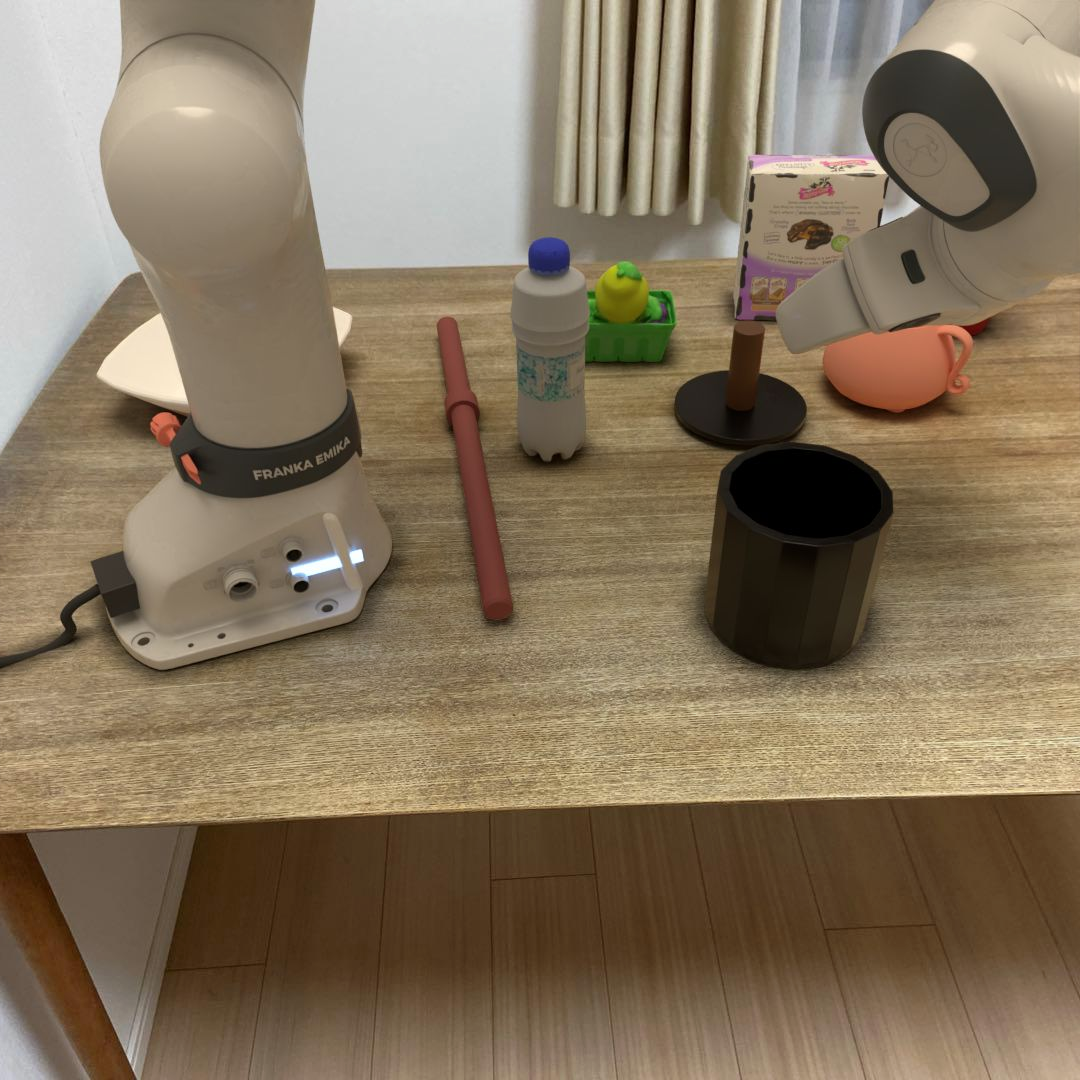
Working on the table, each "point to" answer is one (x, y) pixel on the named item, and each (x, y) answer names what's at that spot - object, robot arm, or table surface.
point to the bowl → (163, 364)
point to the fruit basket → (628, 318)
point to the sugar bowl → (899, 366)
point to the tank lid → (741, 397)
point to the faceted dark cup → (795, 553)
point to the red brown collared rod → (474, 475)
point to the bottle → (550, 350)
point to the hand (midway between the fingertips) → (846, 326)
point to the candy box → (800, 222)
